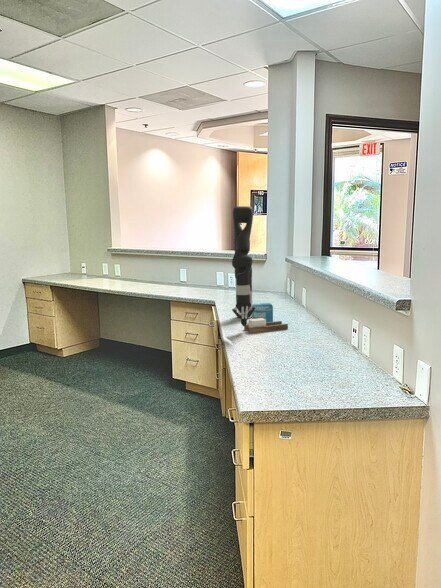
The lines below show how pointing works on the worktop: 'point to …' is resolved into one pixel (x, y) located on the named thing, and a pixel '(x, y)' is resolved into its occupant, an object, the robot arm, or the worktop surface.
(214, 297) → the worktop surface
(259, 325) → the sand block
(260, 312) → the blue labeled box
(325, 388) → the worktop surface
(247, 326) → the walnut chute
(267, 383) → the worktop surface
